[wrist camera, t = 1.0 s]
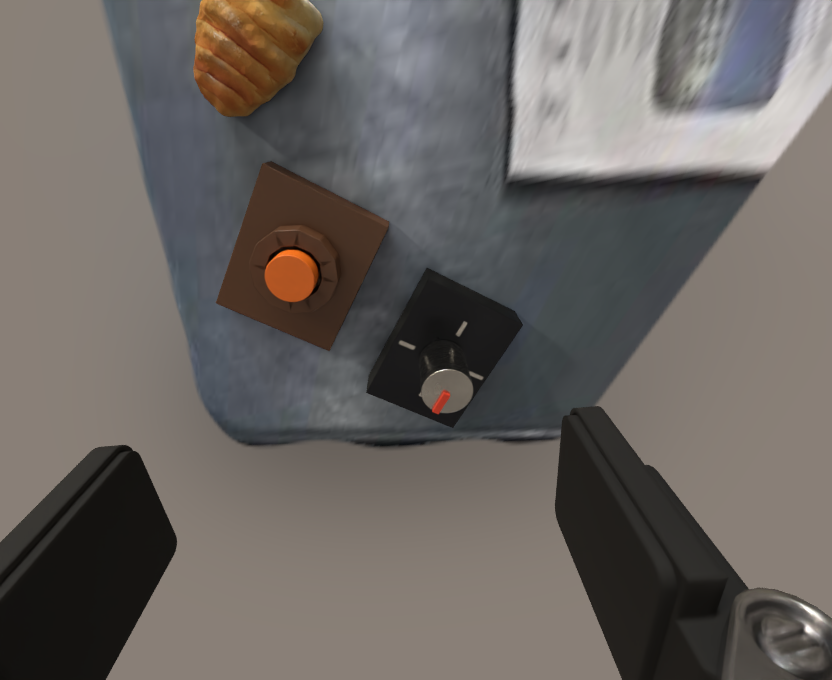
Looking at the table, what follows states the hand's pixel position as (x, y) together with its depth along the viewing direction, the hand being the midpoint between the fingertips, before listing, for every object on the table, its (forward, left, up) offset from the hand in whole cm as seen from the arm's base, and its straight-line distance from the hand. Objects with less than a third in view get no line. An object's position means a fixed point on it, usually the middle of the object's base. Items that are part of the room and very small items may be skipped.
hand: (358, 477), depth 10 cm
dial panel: (+8, +9, -28) cm, 31 cm away
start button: (+6, -5, -25) cm, 26 cm away
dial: (+8, +9, -25) cm, 28 cm away
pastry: (-7, -13, -28) cm, 32 cm away
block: (+6, -5, -28) cm, 29 cm away
